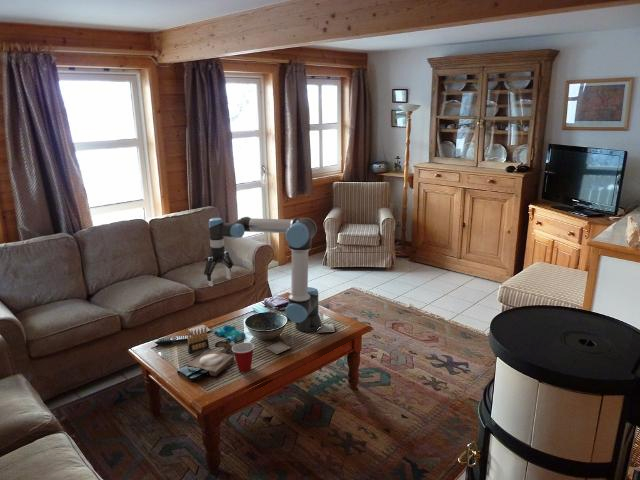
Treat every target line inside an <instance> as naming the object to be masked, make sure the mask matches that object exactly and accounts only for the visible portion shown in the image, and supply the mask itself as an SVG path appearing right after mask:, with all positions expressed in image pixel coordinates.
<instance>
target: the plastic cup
mask: <svg viewBox="0 0 640 480" xmlns="http://www.w3.org/2000/svg"><path fill="white" fill-rule="evenodd" d="M254 349H255V344H254V343H251V342H240V343H237V344H235V345H234V346H233V347H232V349H231V351H232V352H233V355H234V360H235V362H236V366H237V369H238V371H239V372H241V373H247V372H249V371H251V369H252V362H253V354H254Z"/></svg>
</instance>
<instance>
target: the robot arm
mask: <svg viewBox="0 0 640 480" xmlns="http://www.w3.org/2000/svg"><path fill="white" fill-rule="evenodd" d="M208 231H209V244H210V245H209V246H210V253H211V256H208V257H207V258H206V261H207V262H206V265H205V268H204V271H203V275H205V276H206V277H207V281H208V287H214V282H213V281H214V279H213V275H212V274H213V272H214V269H215V267H216V266H217V264H218V263H223V265H224V266H225V274H226V279H227V280H231V279H232V278H231V277H232V275H231V273H232V268H233V267H234V262H233V260H232V259H231V257H230V255H229V254H230V253H229V252H228V251H226V250H225V237H226V238H233V239H237V238H238V239H240V238H243V236H244V235H245V232H249V233H253V232H254V233H270V234H275V233H276V234H285V240H286V243H288V249H289V250H290V251H291V292H290V294H288V304H287V305H286V308H285V316H286V317H287V319H289V320H290V321H291V322H293V323H294V327H295V329H296V330H297V331H299V330H300V331H299V332H302V331H303V333H313V332H312V331H314V332H316V330H317V329H318V328H319V327H321V325H323V323H322V322H323V321H322V319H321V316H320V315H319V314H320V313H319V290H318V289H317V288H315V287H312V286H311V287H309V286H308V284H309V283H308V281H309V275H308V274H309V252H310V250H311V249H312V239H313V238H315V236H316V234H317V232H318V226H317V224H316V222H315V221H314V220H313V219H311V218H309V217H294V218H293V219H290V218H289V219H286V218H285V219H283V218H282V219H281V218H279V219H278V218H251V217H249V216H244V217H241V218H239V219H237V220H235V221H233V222H224V221H223V218H222V217H221V218H220V217H212V218H210V219H208ZM321 328H322V327H321ZM304 331H305V332H304ZM317 331H318V330H317Z"/></svg>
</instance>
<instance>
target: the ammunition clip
mask: <svg viewBox="0 0 640 480" xmlns="http://www.w3.org/2000/svg"><path fill="white" fill-rule="evenodd" d="M209 348H210V344H209V337H208V332H207V327H206V326H204V328H203V327H201V328H197V330H196V329H194V331H193V330H191V331H189V330H187V352H188V354H192V353H196V352H199V351H203V350H205V349H206V350H208V349H209Z"/></svg>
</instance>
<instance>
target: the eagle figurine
mask: <svg viewBox="0 0 640 480" xmlns="http://www.w3.org/2000/svg"><path fill="white" fill-rule="evenodd" d="M234 345H236V342H233V341H231V342H230V340H228V339H227V341H226V340H219V341H217V342H216V343H215V344H214V347H215V348H219V349H220V348H222V350H221V351H219V352H220V353H225V354H229V352H230V351H232V347H233V346H234Z"/></svg>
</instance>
